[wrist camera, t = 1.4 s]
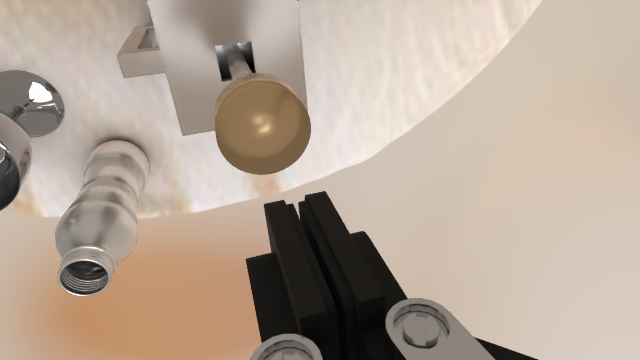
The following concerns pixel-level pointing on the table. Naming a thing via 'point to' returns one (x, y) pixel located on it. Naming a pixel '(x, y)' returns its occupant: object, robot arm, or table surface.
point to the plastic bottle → (101, 218)
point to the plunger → (257, 115)
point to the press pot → (213, 50)
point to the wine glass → (23, 126)
